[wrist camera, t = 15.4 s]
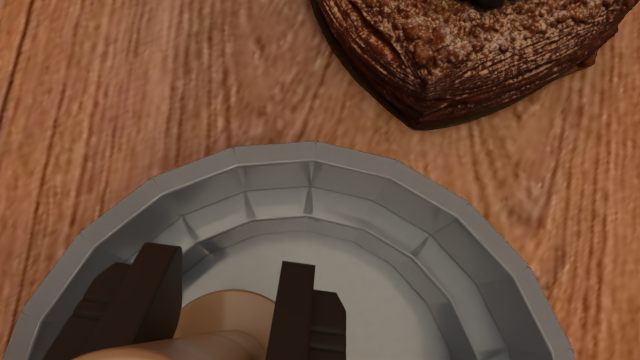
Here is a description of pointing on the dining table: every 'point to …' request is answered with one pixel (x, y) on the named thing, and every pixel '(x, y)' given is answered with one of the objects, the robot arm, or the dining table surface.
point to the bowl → (321, 253)
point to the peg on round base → (208, 331)
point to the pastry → (463, 50)
